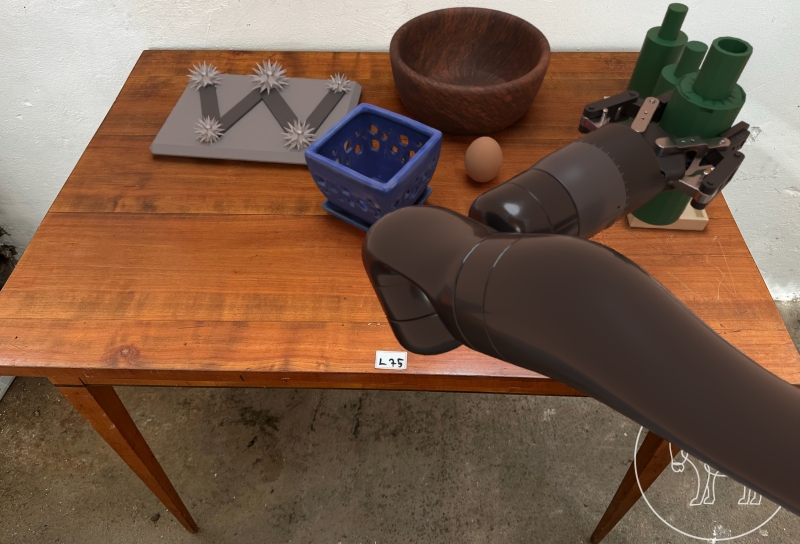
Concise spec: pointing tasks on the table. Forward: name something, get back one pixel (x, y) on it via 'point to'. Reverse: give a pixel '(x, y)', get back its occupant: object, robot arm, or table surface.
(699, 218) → the tray
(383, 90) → the table surface
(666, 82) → the row bottle
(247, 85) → the cassiopeia constellation model
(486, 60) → the wooden bowl
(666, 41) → the row bottle
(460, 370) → the table surface
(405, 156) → the flower pot
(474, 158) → the egg
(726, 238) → the table surface
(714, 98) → the bottle
